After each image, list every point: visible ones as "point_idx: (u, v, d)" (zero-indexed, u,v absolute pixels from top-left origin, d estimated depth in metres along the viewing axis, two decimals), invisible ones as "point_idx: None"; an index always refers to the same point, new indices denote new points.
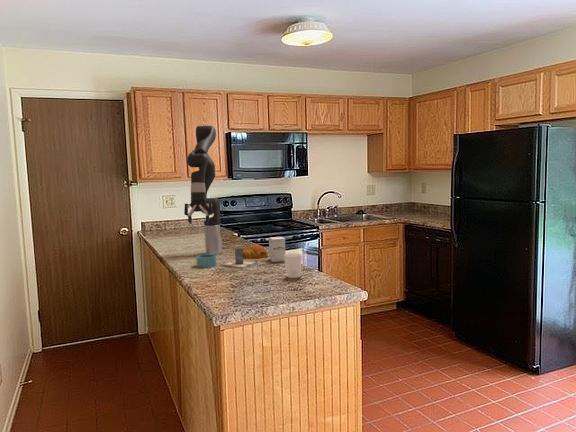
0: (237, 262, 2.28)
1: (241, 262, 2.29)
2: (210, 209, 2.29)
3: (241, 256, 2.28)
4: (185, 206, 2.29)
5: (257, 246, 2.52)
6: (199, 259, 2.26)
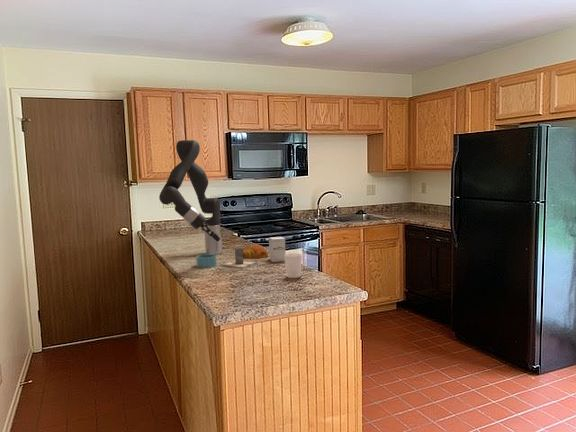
0: (237, 262, 2.28)
1: (241, 262, 2.29)
2: (207, 233, 2.18)
3: (241, 256, 2.28)
4: None
5: (257, 246, 2.52)
6: (199, 259, 2.26)
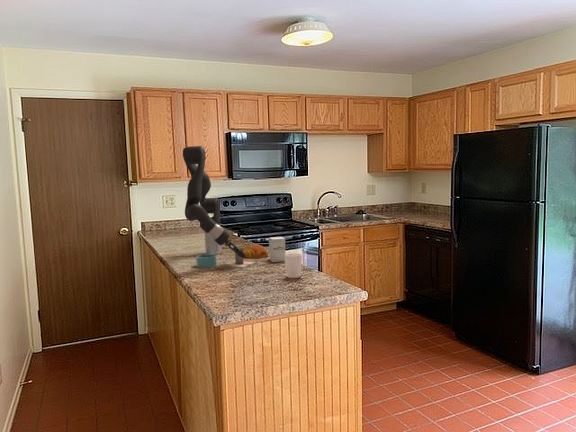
0: (237, 262, 2.28)
1: (241, 262, 2.29)
2: (233, 250, 2.24)
3: None
4: None
5: (257, 246, 2.52)
6: (199, 259, 2.26)
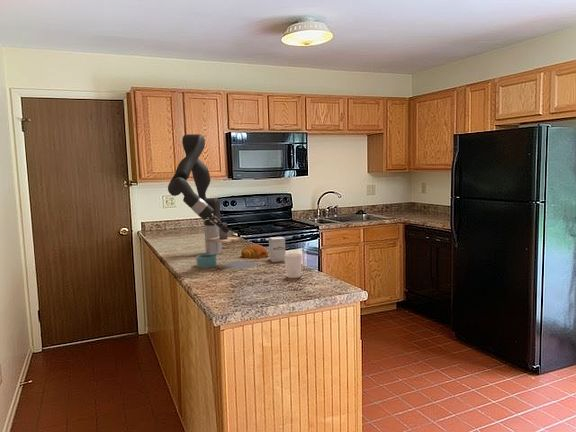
0: (221, 237, 2.27)
1: (225, 237, 2.28)
2: (217, 225, 2.23)
3: None
4: None
5: (257, 246, 2.52)
6: (199, 259, 2.26)
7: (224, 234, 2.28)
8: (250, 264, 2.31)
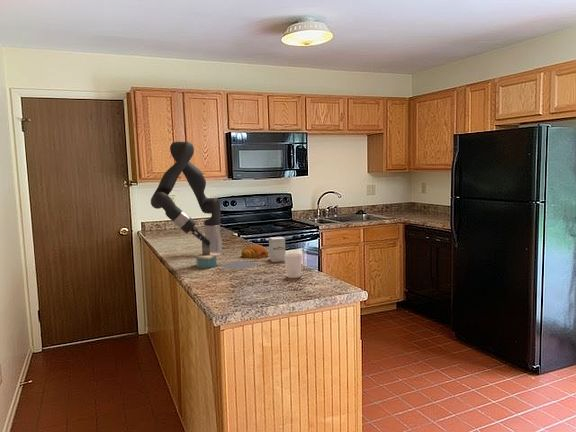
0: (203, 253, 2.28)
1: (207, 253, 2.29)
2: (197, 237, 2.22)
3: (207, 247, 2.28)
4: None
5: (257, 246, 2.52)
6: (199, 259, 2.26)
7: (206, 250, 2.28)
8: (250, 264, 2.31)
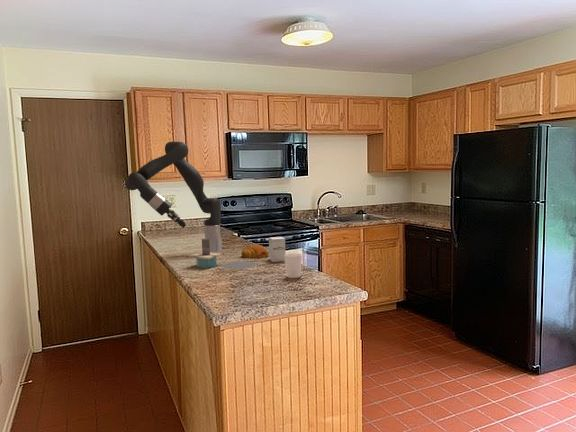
0: (203, 253, 2.28)
1: (207, 253, 2.29)
2: (172, 219, 2.18)
3: (207, 247, 2.28)
4: None
5: (258, 246, 2.52)
6: (199, 259, 2.26)
7: (206, 250, 2.28)
8: (250, 264, 2.31)
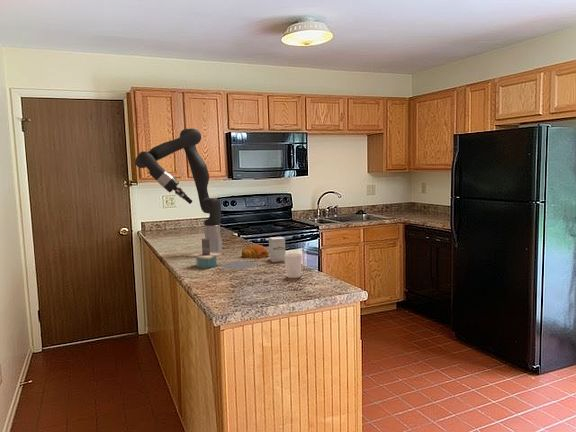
0: (203, 253, 2.28)
1: (207, 253, 2.29)
2: (179, 195, 2.32)
3: (207, 247, 2.28)
4: None
5: (258, 246, 2.52)
6: (199, 259, 2.26)
7: (206, 250, 2.28)
8: (250, 264, 2.31)
